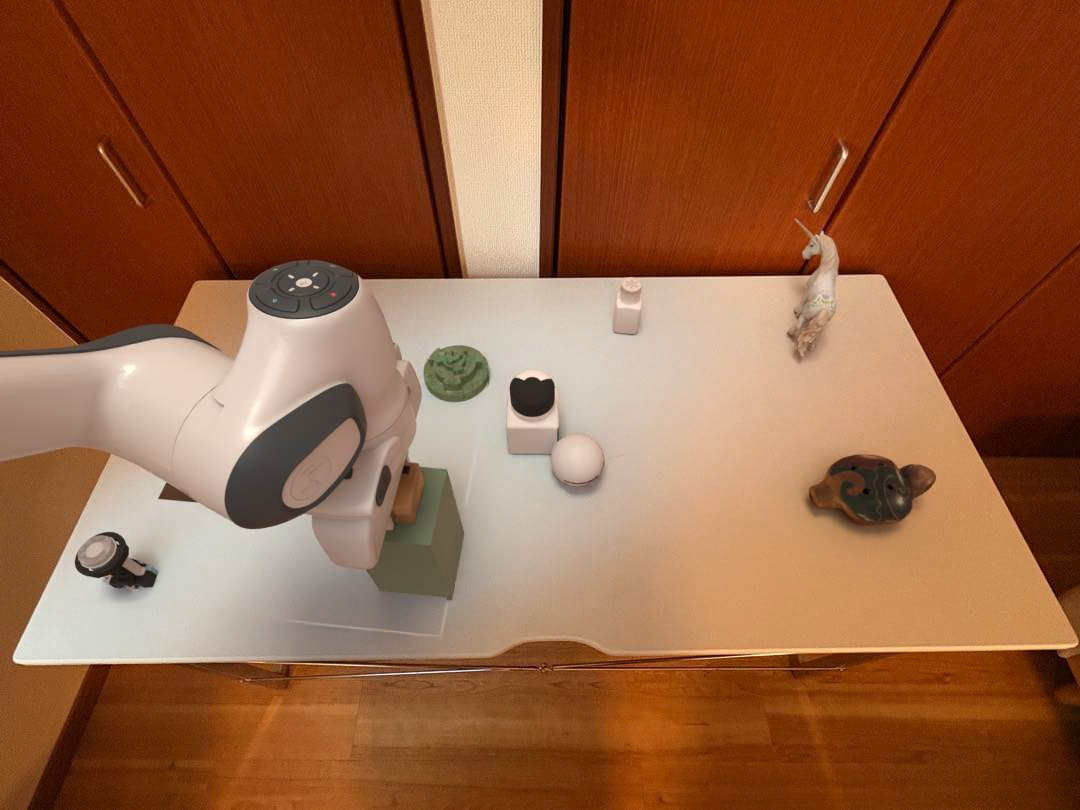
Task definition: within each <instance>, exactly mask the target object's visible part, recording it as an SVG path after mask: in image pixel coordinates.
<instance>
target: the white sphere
mask: <svg viewBox="0 0 1080 810" xmlns="http://www.w3.org/2000/svg"><path fill="white" fill-rule="evenodd" d="M622 456H623V454H621V455H620V457H622ZM617 457H619V455H617V456H616V458H617ZM614 458H615V456H613V457H612V459H614ZM610 459H611V458H608V460H610ZM549 460H550V466H551V470H552V472H553V474H554V475H555V477H556V478H557V479H558V480H559V481H561V483H563V484H566V485H568V486H570V487H584V486H587V485H589V484H591V483H594V481H596V480H597V479H598V478H599V476H600V474H601V472H602V471H603V469H604V466H605V455H604V452H603V448H602V446H601V445H600V444H599V442H598V441H597V440H595V438H593V437H592V436H591V435H588V434H586V433H583V432H572V433H569V434H566V435H564V436H562V437H561V438H560V439H558V442H556V444H555V446H554V447H553V450H552V453H551V454H550V459H549Z"/></svg>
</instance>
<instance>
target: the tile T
mask: <svg viewBox="0 0 1080 810" xmlns="http://www.w3.org/2000/svg"><path fill="white" fill-rule="evenodd" d="M420 467H421V466H420V464H419V462H411V461H410V462H405V463H404V466H403V470H402V474H401V478H400V481H399V485H398V489H397V492H396V496H395V500H394V504H393V507H392V510H394V513H395V515H396V519H395V522H396V523H407V524H415V520H416V516H417V512H418V508H419V503H420V499H421V495H422V491H423V487H424V483H425V482H424V479H423V476H422V473H421V470H420Z"/></svg>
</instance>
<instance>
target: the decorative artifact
mask: <svg viewBox="0 0 1080 810" xmlns="http://www.w3.org/2000/svg"><path fill="white" fill-rule="evenodd" d="M423 379H424V383H425V386H426V388H427V390H428V391H429V393H430V394H431V395H432V396H434V397H435V398H436V399H438V400H440V401H444V402H448V403H460V402H465V401H466V402H467V401H468V400H471V399H474V398H475V397H477V396H478V395H479V394H480V393H482V392H483V391H484V390H485V388H487V389H488V388H489V385H490V380H491V378H490V368H489V362H488V360H487V358H486V356H485V355H484V354H483V353H482V352H480V351H479V350H478V349H477V348H474V347H472V346H468V345H463V344H456V345H455V344H454V345H449V346H445V347H442V348H440V347H437V348H436V349H434V351H432V353H431V354H430V355H429V357H428V359H427V360H426V362H425V364H424V366H423Z"/></svg>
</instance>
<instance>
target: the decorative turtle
mask: <svg viewBox="0 0 1080 810" xmlns="http://www.w3.org/2000/svg"><path fill="white" fill-rule="evenodd" d="M936 480H937V473H935V471H934V470H932V469H931V468H930V467H927V466H925V465H923V464H919V463H910V464H907V465H904V466H902V467H900V468H899V466H897V465H896V464H895V462H894V461H893V460H891V459H890V458H887V457H884V456H882V455H877V454H867V453H865V454H863V453H861V454H852V455H848V456H844V457H841V458H840V459H838V460H836V461H835V462H833V463H831V465H830V466H829V468H828V469H827V470H826V473H825V475H824V478H823V480H822V481H820V482H818V483H815V484H814V485H810V486H809V488H808V493H809V495H808V496H809V500H810V502H811V504H812V505H813V507H814V508H817V509H840V510H842V511H843V512H844V513H845V514H846V515H848V518H849V521H850V522H851V523H852V524H854V525H858V526H877V525H878V526H879V525H890V524H895V523H899V522H901V521H903V520H905V519H906V518H907V517H908V516H909V515H910V513H911V511H912V510H913V500H914V499H916V498H918V497H920V496H922V495H923V494H925V493H926V492H928V491H929V490H930V489H931V488H932V487H933V485H934V484H935V483H936Z"/></svg>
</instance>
